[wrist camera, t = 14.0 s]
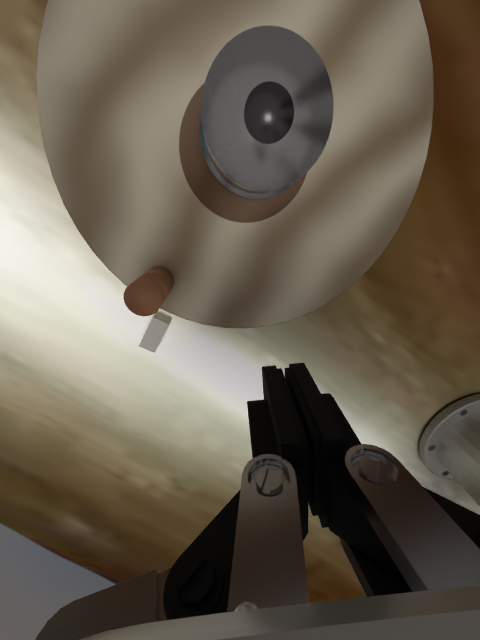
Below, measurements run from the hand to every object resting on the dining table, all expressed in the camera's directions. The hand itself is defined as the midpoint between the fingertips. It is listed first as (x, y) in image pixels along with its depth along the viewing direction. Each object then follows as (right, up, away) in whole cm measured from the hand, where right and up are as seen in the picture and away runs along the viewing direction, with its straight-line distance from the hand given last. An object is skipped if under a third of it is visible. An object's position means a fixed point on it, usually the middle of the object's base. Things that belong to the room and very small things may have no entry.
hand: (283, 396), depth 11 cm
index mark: (-9, +2, +13) cm, 16 cm away
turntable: (-1, +15, +9) cm, 17 cm away
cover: (-1, +15, +7) cm, 17 cm away
